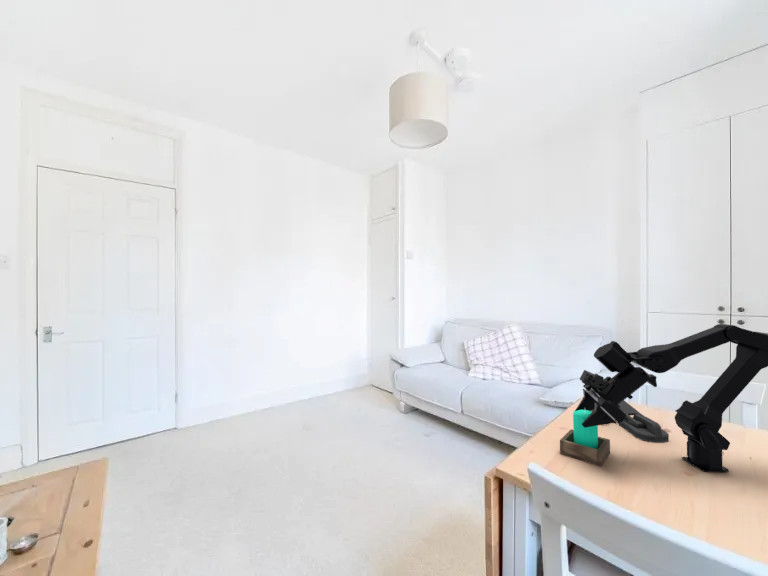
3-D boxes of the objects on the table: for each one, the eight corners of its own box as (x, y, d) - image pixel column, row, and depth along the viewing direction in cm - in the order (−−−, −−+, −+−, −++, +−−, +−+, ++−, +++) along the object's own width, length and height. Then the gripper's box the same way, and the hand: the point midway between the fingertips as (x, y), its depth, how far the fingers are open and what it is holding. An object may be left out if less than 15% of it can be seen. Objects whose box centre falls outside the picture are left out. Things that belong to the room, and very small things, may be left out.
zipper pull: (618, 394, 124) (674, 421, 99) (618, 412, 124) (674, 443, 99) (594, 394, 125) (643, 420, 100) (594, 412, 125) (644, 442, 100)
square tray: (610, 453, 94) (609, 439, 94) (601, 466, 87) (601, 452, 87) (571, 441, 101) (570, 429, 101) (560, 453, 94) (559, 440, 94)
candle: (592, 445, 96) (591, 404, 96) (602, 456, 90) (601, 412, 90) (570, 444, 97) (569, 403, 97) (578, 454, 91) (577, 411, 91)
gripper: (590, 355, 101) (551, 388, 105) (610, 370, 84) (562, 409, 87) (620, 383, 99) (579, 416, 102) (648, 404, 81) (597, 443, 85)
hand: (579, 419), depth 94 cm, fingers open, 9 cm apart
